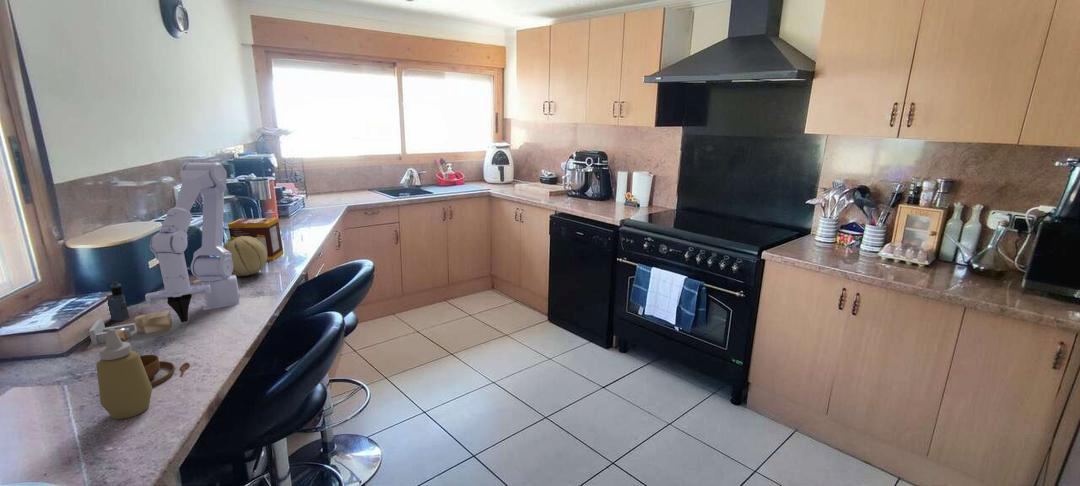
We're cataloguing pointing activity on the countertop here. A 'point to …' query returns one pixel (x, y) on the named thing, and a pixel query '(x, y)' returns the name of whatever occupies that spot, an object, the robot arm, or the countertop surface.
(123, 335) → the plunger
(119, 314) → the vaping device
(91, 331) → the socket board
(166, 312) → the peg
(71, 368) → the countertop surface
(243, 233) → the supplement box
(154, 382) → the place setting
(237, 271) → the cantaloupe
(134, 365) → the squeeze bottle
